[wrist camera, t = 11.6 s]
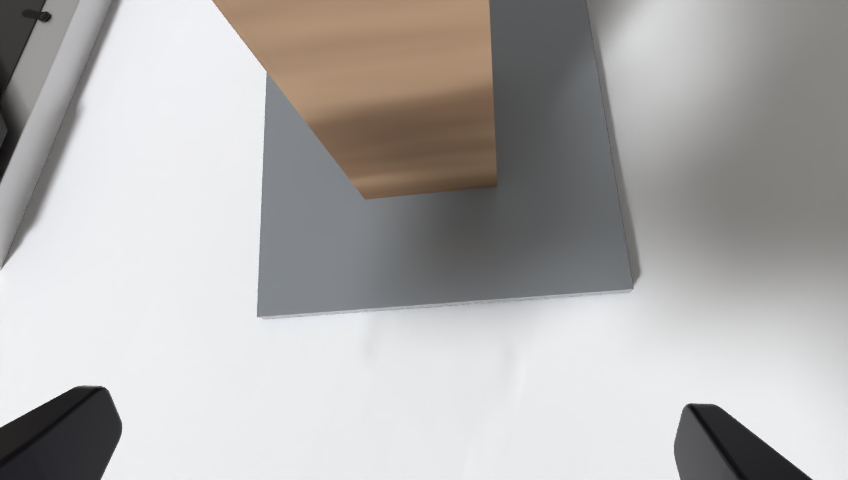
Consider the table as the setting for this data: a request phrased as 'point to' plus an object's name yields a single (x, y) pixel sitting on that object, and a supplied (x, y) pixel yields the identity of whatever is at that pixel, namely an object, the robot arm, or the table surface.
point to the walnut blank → (384, 85)
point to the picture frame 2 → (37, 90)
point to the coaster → (458, 195)
